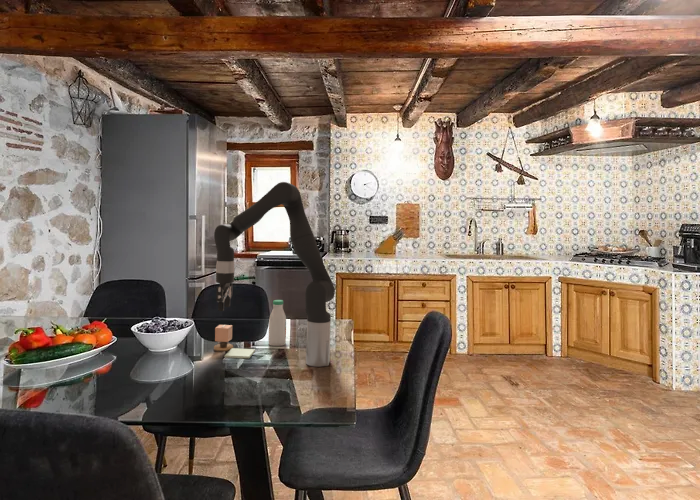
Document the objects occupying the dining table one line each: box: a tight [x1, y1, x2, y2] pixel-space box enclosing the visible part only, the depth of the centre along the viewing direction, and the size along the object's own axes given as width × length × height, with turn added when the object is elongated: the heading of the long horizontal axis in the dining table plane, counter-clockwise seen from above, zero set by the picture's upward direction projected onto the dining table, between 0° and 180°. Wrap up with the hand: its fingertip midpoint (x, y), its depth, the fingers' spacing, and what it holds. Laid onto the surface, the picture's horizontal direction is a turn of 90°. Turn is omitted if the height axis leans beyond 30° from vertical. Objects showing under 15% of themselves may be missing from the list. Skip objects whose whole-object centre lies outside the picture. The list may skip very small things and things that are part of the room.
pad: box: [224, 347, 256, 359], centre depth 181 cm, size 10×10×1 cm
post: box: [213, 341, 234, 353], centre depth 187 cm, size 8×8×9 cm
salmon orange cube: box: [214, 324, 233, 343], centre depth 186 cm, size 6×6×6 cm
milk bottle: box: [268, 299, 287, 347], centre depth 197 cm, size 8×8×20 cm
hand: (224, 308), depth 186 cm, fingers open, 8 cm apart
